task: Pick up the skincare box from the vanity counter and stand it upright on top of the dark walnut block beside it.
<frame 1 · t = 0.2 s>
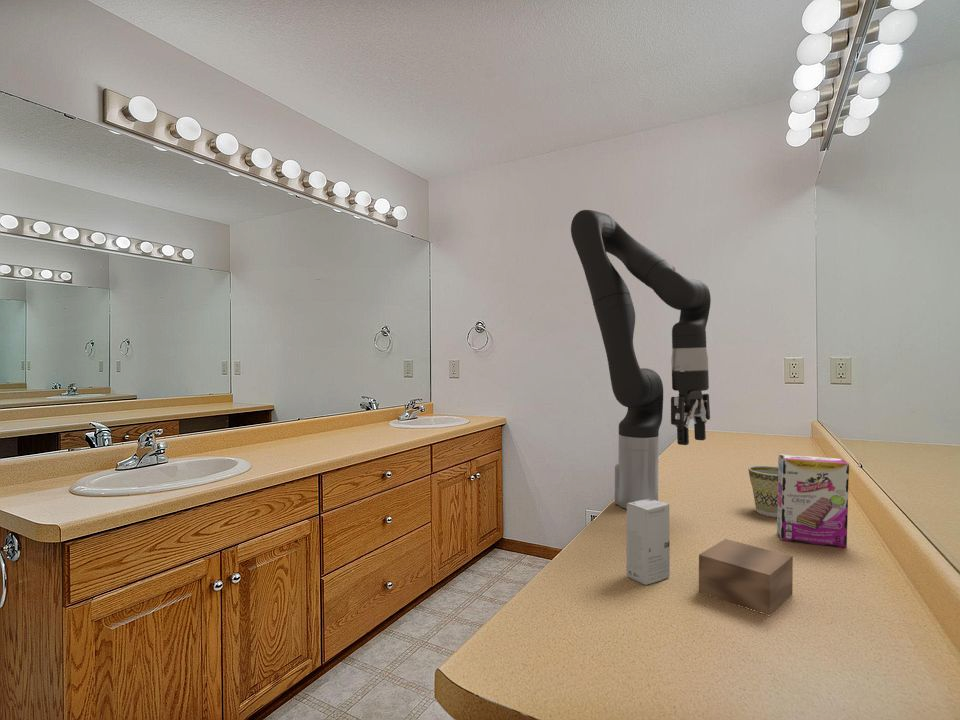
hand: (691, 442, 113), 17 cm above the worktop, tool pointing down, fingers open, 8 cm apart
candy bar box: (811, 541, 101), on the worktop
walnut block: (745, 594, 79), on the worktop
ceramic cup: (779, 515, 117), on the worktop
skincare box: (647, 577, 84), on the worktop
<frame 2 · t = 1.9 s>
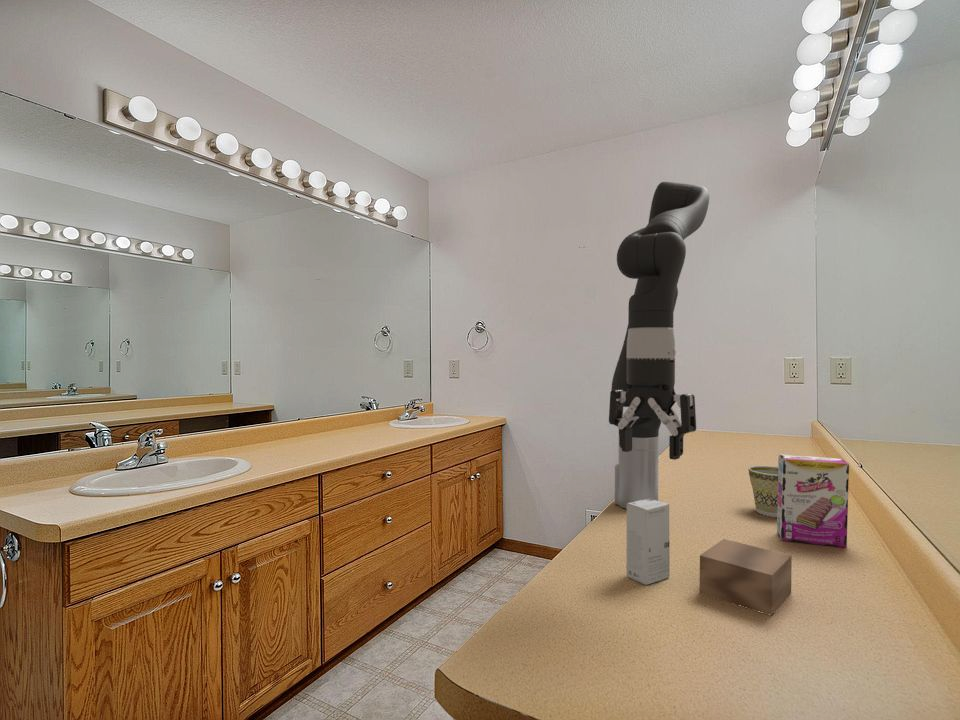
hand: (650, 454, 84), 20 cm above the worktop, tool pointing down, fingers open, 8 cm apart
nothing on the worktop moved.
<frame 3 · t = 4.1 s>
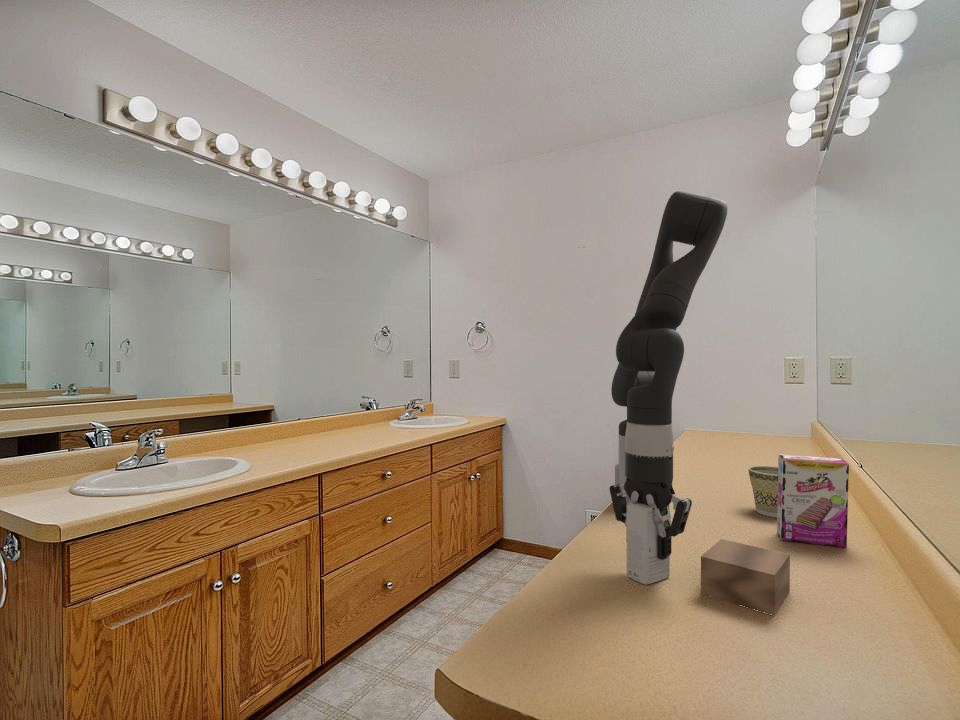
hand: (648, 553, 84), 4 cm above the worktop, tool pointing down, fingers closed on skincare box, 4 cm apart
skincare box: (647, 577, 84), on the worktop, touching gripper
everything else where it was.
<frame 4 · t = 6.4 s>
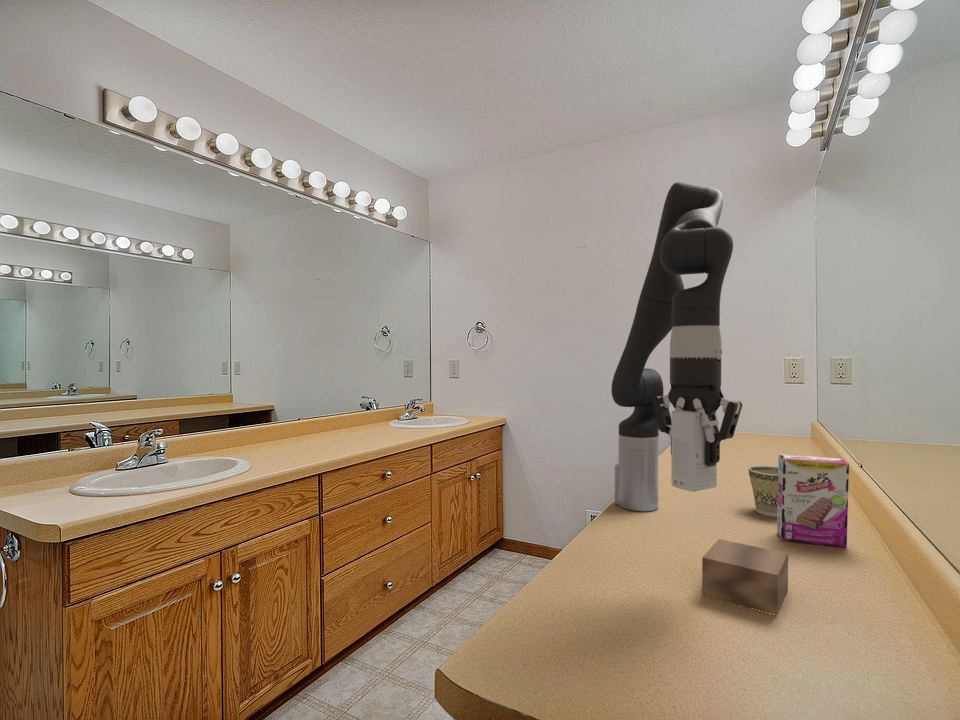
hand: (694, 462, 81), 19 cm above the worktop, tool pointing down, fingers closed on skincare box, 4 cm apart
skincare box: (693, 488, 81), point 15 cm above the worktop, touching gripper
everything else where it was.
when the fingers open (11 cm above the worktop, at t = 8.8 s): skincare box drops 1 cm, resting on walnut block.
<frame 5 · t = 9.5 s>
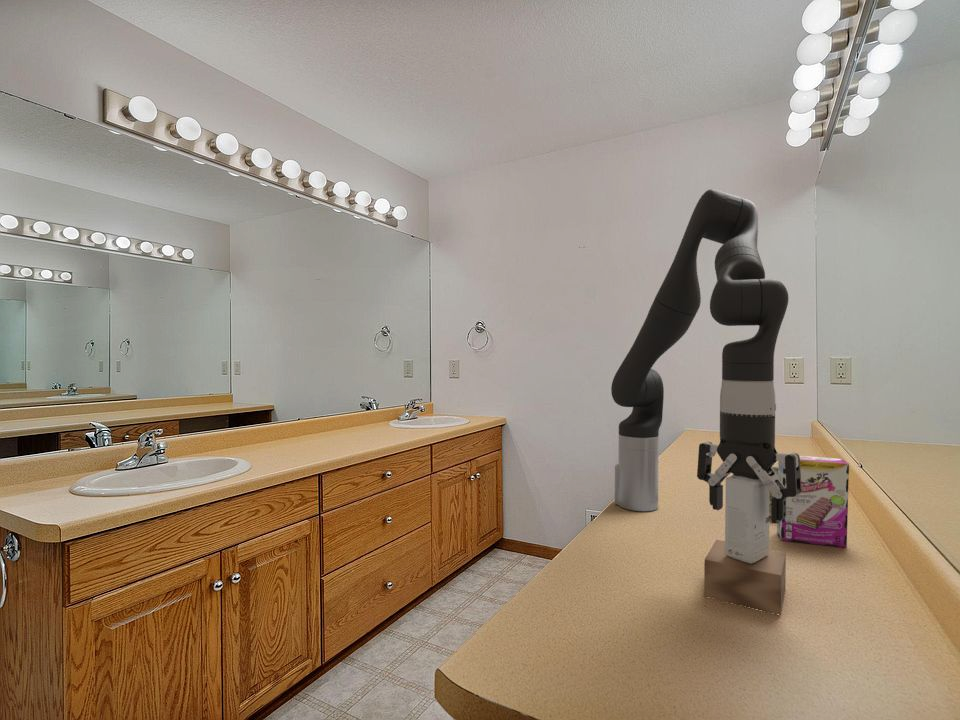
hand: (746, 515, 78), 12 cm above the worktop, tool pointing down, fingers open, 8 cm apart
walnut block: (745, 594, 79), on the worktop, touching skincare box
skincare box: (746, 555, 79), point 6 cm above the worktop, touching walnut block
everything else where it was.
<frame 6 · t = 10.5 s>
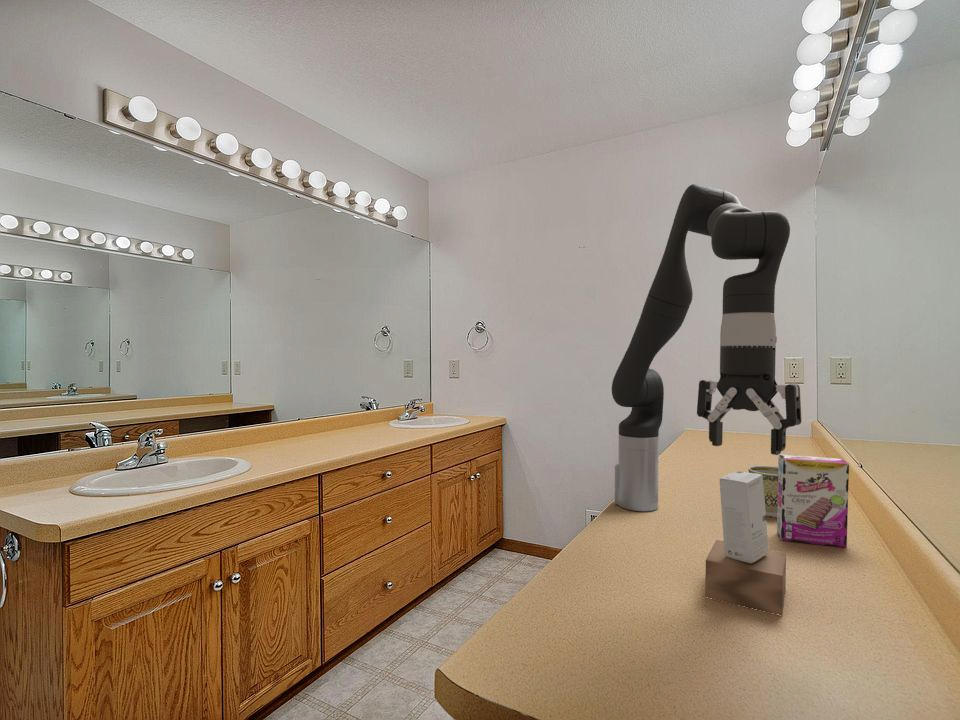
hand: (745, 449, 78), 22 cm above the worktop, tool pointing down, fingers open, 8 cm apart
nothing on the worktop moved.
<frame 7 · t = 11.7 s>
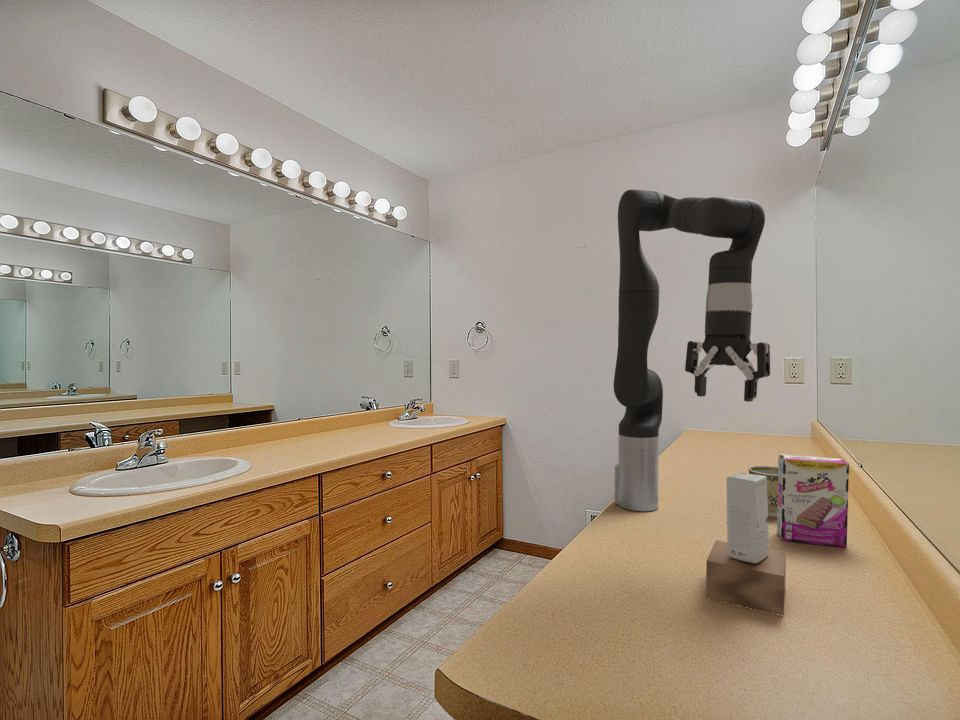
hand: (724, 398, 93), 29 cm above the worktop, tool pointing down, fingers open, 8 cm apart
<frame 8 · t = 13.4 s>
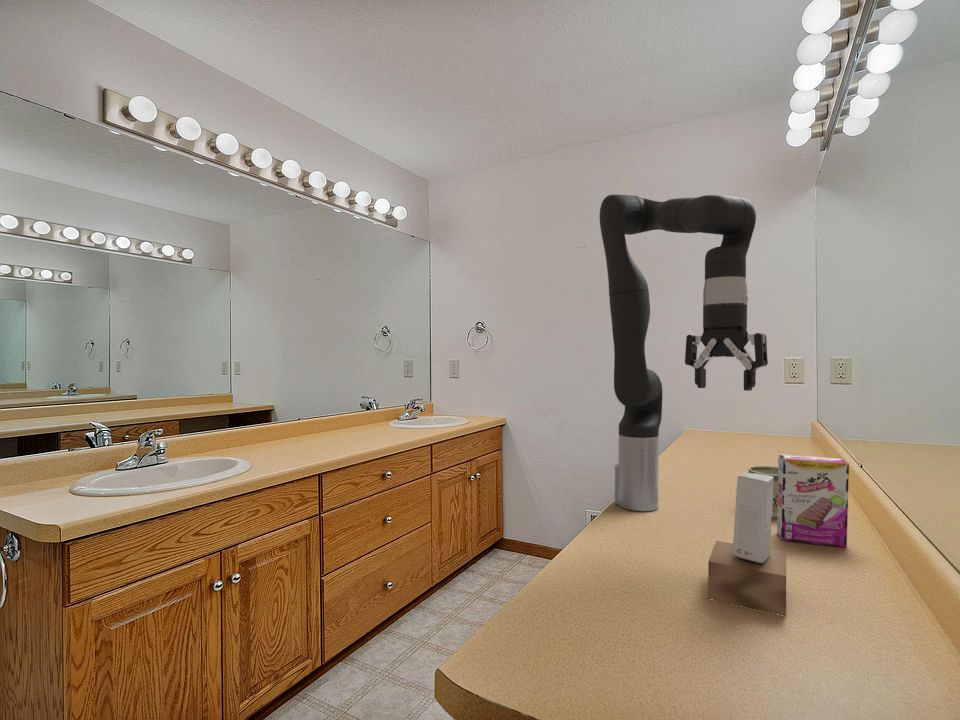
hand: (724, 389, 96), 30 cm above the worktop, tool pointing down, fingers open, 8 cm apart
at the end: skincare box 0.4 cm off-centre on the walnut block, point 6.1 cm above the walnut block's base; skincare box tilted 5°; the gripper is holding nothing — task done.
